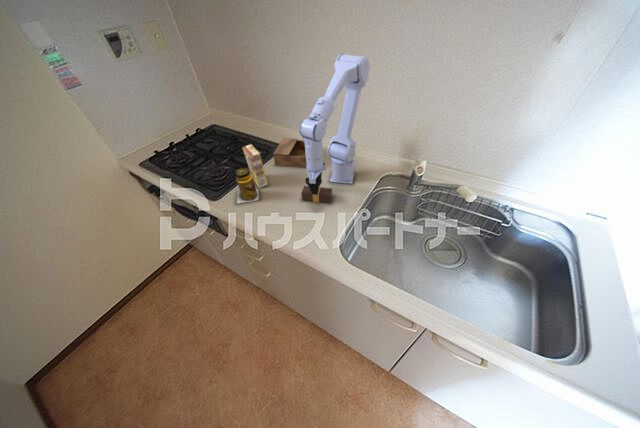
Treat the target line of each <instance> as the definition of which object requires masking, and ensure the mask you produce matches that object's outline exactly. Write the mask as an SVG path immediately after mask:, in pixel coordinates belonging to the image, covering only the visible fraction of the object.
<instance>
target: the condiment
mask: <svg viewBox="0 0 640 428" xmlns="http://www.w3.org/2000/svg"><path fill="white" fill-rule="evenodd" d="M234 174H235V178H236V179H235V181H236V183H237V186H238V190H239V191H237V195H236V197H237V199H236V204H244V203H250V202H256V201H259V200H260V196H259V188H257V187H256V185H255V184H256V183H255V181H254V180H253V177H252V175H251V173H250V170H249V168H248V167H241V168H238V169H237V170H235V173H234Z"/></svg>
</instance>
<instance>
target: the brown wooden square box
mask: <svg viewBox="0 0 640 428" xmlns="http://www.w3.org/2000/svg"><path fill="white" fill-rule="evenodd" d="M272 154H273V156H272V158H273V161H274V166H278V167H291V168H303V169H306V166H307V163H306V156H305V142H304V141H303V139H302V140H301V139H298V138H291V137H290V138H289V137H283V138H282V139H281V140H280V142H279V143H278V145H277V147H276V149H275V150H274V151H273V153H272Z"/></svg>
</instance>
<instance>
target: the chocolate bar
mask: <svg viewBox="0 0 640 428" xmlns="http://www.w3.org/2000/svg"><path fill="white" fill-rule="evenodd" d="M332 198H333V187H332V188H331V187H321V186H319V192H318V195H313V194H312V193H311V190H310V188H309V186H308V185H304V186H303V187H302V190H301V201H303V202H304V201H305V202H314V203H323V204H331V202H332Z"/></svg>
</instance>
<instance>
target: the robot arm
mask: <svg viewBox="0 0 640 428" xmlns="http://www.w3.org/2000/svg"><path fill="white" fill-rule="evenodd" d="M333 64H334V65H333V72H334V74H333V76H332V78H331V80H330V83H328V87H327V89H326V91H325V94H324V95H323V96H320V97H318V99H317V101H316V103H315V105H313V108H312V110H311V112H310V113H309V115H308V117H306V118H305V119H303V120H302V121H301V123H300V125H299V130H298V133H299V135H300V136H301V137H302V140H303V141H304V142H305V153H306V163H307V166H306V168H305V169H306V172H307V176H308V177H305V180H304V181H305V184H306V186H309V188H310V190H311V193H312V194H313V195H318V192H319V187H321V184H322V183H323V178H322V174H323V171H327V168H328V167H327V165H326V164H325V162H324V151H323V150H324V149H323V139H324V137H325V135H326V133H327V132H326V131H327V128H328V122H329V120H330V118H331V116H332V114H333V112H334V110H335V108H336V107H335V106H336V105H335V101H336V100H337V98H338V97H339V96H340V94H341V92H342V91H343V90H344V88H346V91H345V96H344V101H343V105H342V112H341V115H340V120H339V123H338V124H339V125H338V129H337V134H335V135H333V136H332V137H330V141H329V143H328V146H327V150H326V152H327V155H328V157H330V158H329V159H330V160H331V175H330V179H329V182H330V183H338V184H348V185H353V182H354V178H355V169H356V167H355V166H356V159H354V158H355V155H356V145H357V143H356V142H355V140H354V139H353V137H352V132H353V129H354V123H355V119H356V116H357V112H358V111H357V110H358V108H359V107H358V106H359V103H360V97H361V93H362V89H363V88H364V87H366V85H367V82H368V78H369V73H370V68H371V66H370V61H369V57H368V56H365V55H363V56H361V55H352V54H344V53H340V54H338V56H337V58H336V60H335V62H334V63H333Z"/></svg>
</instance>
